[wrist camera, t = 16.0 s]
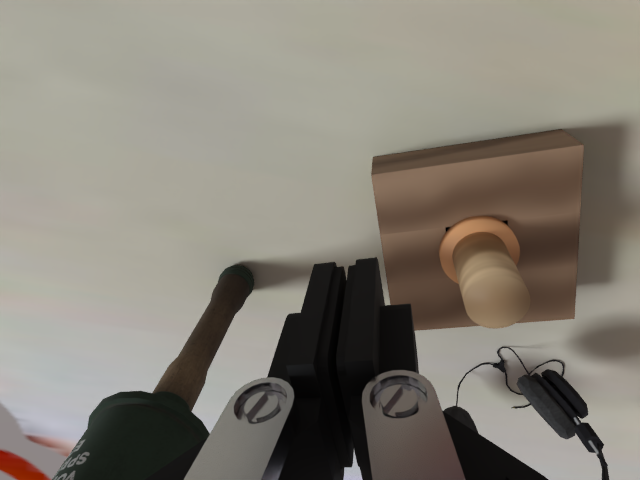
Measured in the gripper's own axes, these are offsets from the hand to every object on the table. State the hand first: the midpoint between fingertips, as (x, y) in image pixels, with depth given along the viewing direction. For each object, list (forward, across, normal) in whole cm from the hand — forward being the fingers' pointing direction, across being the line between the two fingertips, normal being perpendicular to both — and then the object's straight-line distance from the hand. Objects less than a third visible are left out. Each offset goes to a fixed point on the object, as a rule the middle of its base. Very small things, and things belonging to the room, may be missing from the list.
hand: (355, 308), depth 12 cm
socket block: (+31, -7, +13) cm, 34 cm away
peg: (+31, -7, +13) cm, 34 cm away
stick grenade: (+31, +17, +16) cm, 39 cm away
